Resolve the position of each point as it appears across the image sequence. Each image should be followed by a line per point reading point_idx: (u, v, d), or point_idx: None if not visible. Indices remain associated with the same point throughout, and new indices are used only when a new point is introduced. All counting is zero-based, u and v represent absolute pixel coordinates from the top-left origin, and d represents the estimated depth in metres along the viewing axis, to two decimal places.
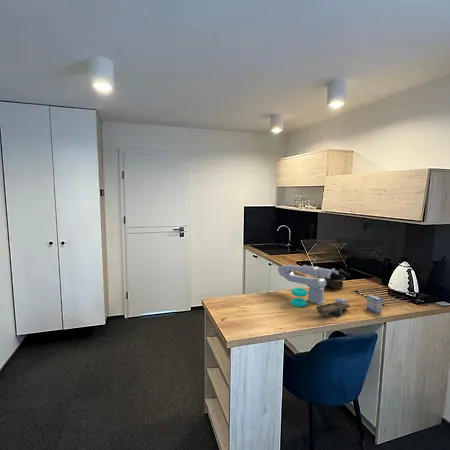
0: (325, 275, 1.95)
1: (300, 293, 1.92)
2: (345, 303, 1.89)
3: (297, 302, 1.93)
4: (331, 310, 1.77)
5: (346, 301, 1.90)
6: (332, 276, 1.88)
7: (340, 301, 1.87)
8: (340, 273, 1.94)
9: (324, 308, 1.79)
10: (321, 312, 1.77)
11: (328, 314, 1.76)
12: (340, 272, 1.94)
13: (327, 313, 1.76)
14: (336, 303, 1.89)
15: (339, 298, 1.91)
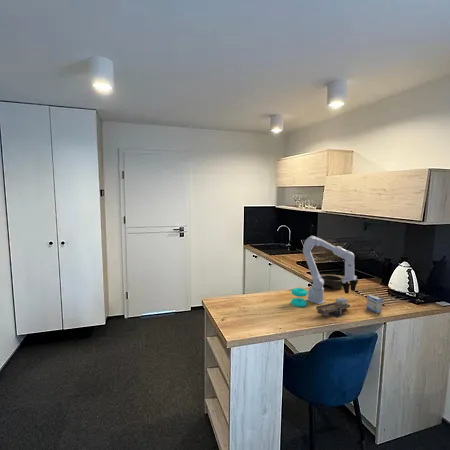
0: (346, 272, 1.93)
1: (300, 293, 1.92)
2: (345, 303, 1.89)
3: (297, 302, 1.93)
4: (331, 310, 1.77)
5: (346, 301, 1.90)
6: (345, 283, 1.91)
7: (340, 301, 1.87)
8: (353, 281, 1.96)
9: (324, 308, 1.79)
10: (321, 312, 1.77)
11: (328, 314, 1.76)
12: (354, 281, 1.96)
13: (327, 313, 1.76)
14: (336, 303, 1.89)
15: (339, 298, 1.91)
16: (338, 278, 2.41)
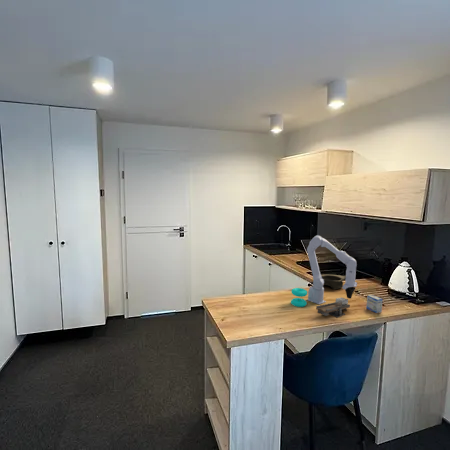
0: (347, 278, 1.93)
1: (300, 293, 1.92)
2: (345, 303, 1.89)
3: (297, 302, 1.93)
4: (331, 310, 1.77)
5: (346, 301, 1.90)
6: (348, 288, 1.94)
7: (340, 301, 1.87)
8: None
9: (324, 308, 1.79)
10: (321, 312, 1.77)
11: (328, 314, 1.76)
12: None
13: (327, 313, 1.76)
14: (336, 303, 1.89)
15: (339, 298, 1.91)
16: (338, 278, 2.41)
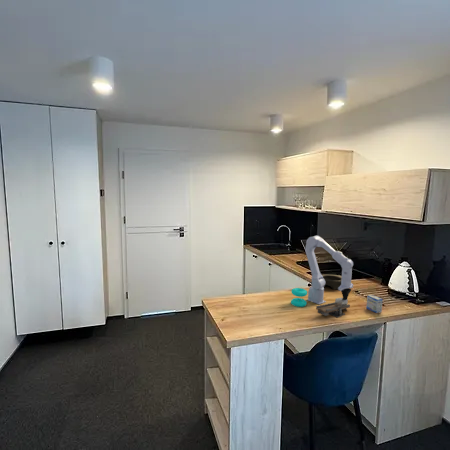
0: (342, 280, 1.90)
1: (300, 293, 1.92)
2: (345, 303, 1.89)
3: (297, 302, 1.93)
4: (331, 310, 1.77)
5: (346, 301, 1.90)
6: None
7: (340, 301, 1.87)
8: None
9: (324, 308, 1.79)
10: (321, 312, 1.77)
11: (328, 314, 1.76)
12: None
13: (327, 313, 1.76)
14: (336, 303, 1.89)
15: (339, 298, 1.90)
16: (338, 278, 2.41)
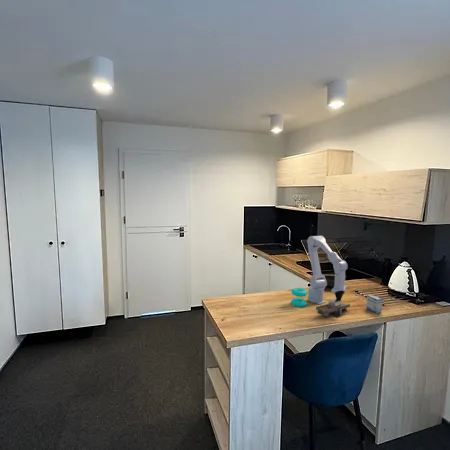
0: (336, 282, 1.85)
1: (300, 293, 1.92)
2: (338, 304, 1.84)
3: (297, 302, 1.93)
4: (331, 310, 1.77)
5: (339, 302, 1.85)
6: None
7: (333, 303, 1.82)
8: None
9: (324, 308, 1.79)
10: (321, 312, 1.77)
11: (328, 314, 1.77)
12: None
13: (327, 313, 1.76)
14: (329, 305, 1.84)
15: (332, 299, 1.85)
16: None
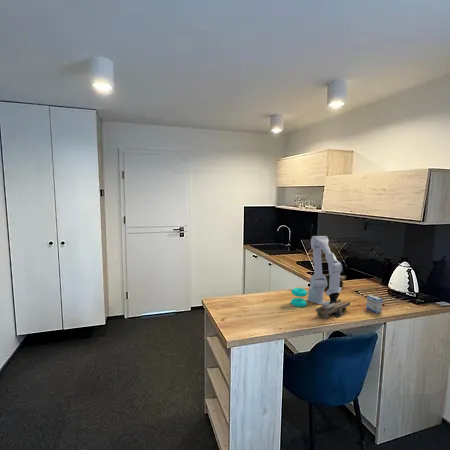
0: (330, 284, 1.81)
1: (300, 293, 1.92)
2: (332, 307, 1.80)
3: (297, 302, 1.93)
4: (331, 312, 1.77)
5: (333, 304, 1.81)
6: (332, 294, 1.82)
7: (326, 305, 1.78)
8: None
9: (324, 310, 1.79)
10: (321, 314, 1.77)
11: None
12: None
13: (327, 315, 1.76)
14: (322, 307, 1.80)
15: (325, 302, 1.82)
16: None
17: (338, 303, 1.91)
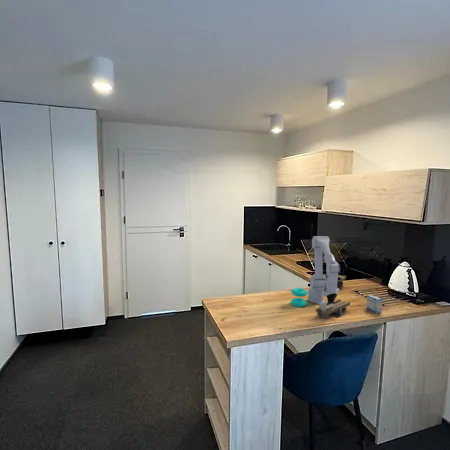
0: (328, 284, 1.80)
1: (300, 293, 1.92)
2: (329, 307, 1.78)
3: (297, 302, 1.93)
4: (331, 312, 1.77)
5: (331, 305, 1.79)
6: None
7: (324, 306, 1.76)
8: None
9: None
10: (321, 314, 1.77)
11: None
12: None
13: (327, 315, 1.76)
14: (320, 308, 1.79)
15: (323, 302, 1.80)
16: (338, 278, 2.41)
17: (338, 303, 1.91)
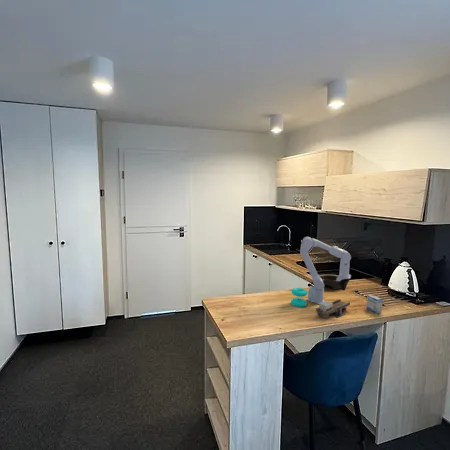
0: (341, 271, 1.97)
1: (300, 293, 1.92)
2: (329, 308, 1.78)
3: (297, 302, 1.93)
4: (331, 312, 1.77)
5: (331, 305, 1.79)
6: (342, 280, 1.98)
7: (324, 306, 1.76)
8: None
9: None
10: (321, 314, 1.77)
11: None
12: None
13: (327, 315, 1.76)
14: (320, 308, 1.78)
15: (323, 302, 1.80)
16: None
17: (338, 303, 1.91)
